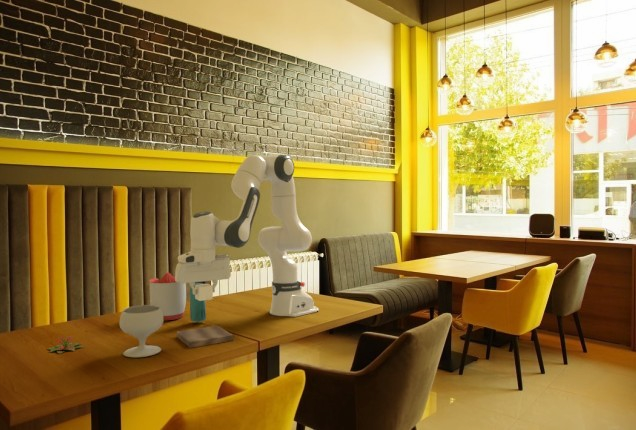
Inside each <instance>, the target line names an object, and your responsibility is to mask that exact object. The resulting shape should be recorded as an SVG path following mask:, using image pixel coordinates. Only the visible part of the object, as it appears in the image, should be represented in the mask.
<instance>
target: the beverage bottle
mask: <svg viewBox="0 0 636 430" xmlns="http://www.w3.org/2000/svg"><path fill="white" fill-rule="evenodd" d="M201 284H203V282H195V285H201ZM195 285H193V286H194V288H195ZM189 297H190V298H189V302H190V303H189V305H190V307H189V312H190V313H189V317H190V321H191V322H194V323H196V322H197V323H198V322H204V321H206V318H207V308H206V305H207V304H206V303H207V301H206V300H203V301H199V300H197V299H195V295H194V294H193V289H192V288H191V287H190V286H189Z"/></svg>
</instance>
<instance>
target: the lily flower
mask: <svg viewBox="0 0 636 430" xmlns="http://www.w3.org/2000/svg"><path fill="white" fill-rule="evenodd" d="M62 337H63V338H62ZM62 337H61V336H60V338H59V340H58V342H59V343H60V344H58V345H56V346H52V347H49V348H48V350H50V351H49V353H52V352H55V351H56V352H57V353H58V354H62V353H65V352H67V351H73V352H75V350H76V349H80V348H84V346H83V345H80V343H78V342H72V340H73V339H72V338H73V336H66V338H65V337H64V336H62ZM60 340H61V341H60ZM62 350H63V351H62Z"/></svg>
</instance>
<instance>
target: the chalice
mask: <svg viewBox="0 0 636 430" xmlns="http://www.w3.org/2000/svg"><path fill="white" fill-rule="evenodd" d="M163 324H164V321H163V314H162V311H161V309H160V307H158V306H155V305H150V304H142V305H134V306H129V307H126V308H124V309H123V310H122V312H121V314H120V317H119V327H120V329H121V331H122V332H123V333H125V334H128V335H130V336H132V337H135V338H136V339H137V340H138V342H139V344H138V346H135V347H130V348H128V349H125V351H123V353H122V355H123V356H125V357H128V358H145V357H149V356H154V355H156V354H157V355H158V354H159V353H160V352H161V351H162V348H161V347H159V346H157V345H147V344H146V341H147V338H148V337H149V336H150V335H152V334H154V333H155V332H157V331H158V330H159V329H160V328H161V327H162V326H163Z"/></svg>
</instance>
